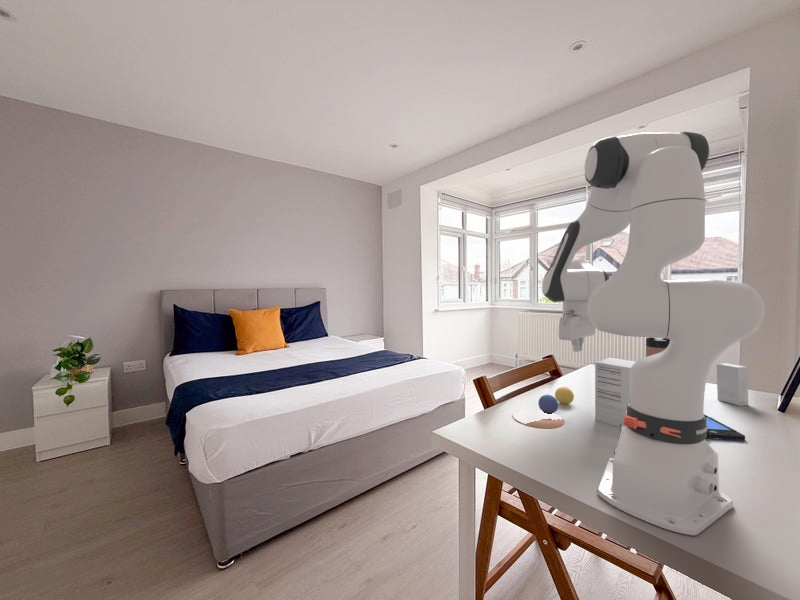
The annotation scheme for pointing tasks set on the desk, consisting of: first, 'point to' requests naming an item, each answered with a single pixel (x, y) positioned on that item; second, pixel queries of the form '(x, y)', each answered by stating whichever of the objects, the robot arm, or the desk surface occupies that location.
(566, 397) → the ball
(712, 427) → the handheld game console
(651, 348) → the travel mug
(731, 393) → the skincare box
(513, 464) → the desk surface
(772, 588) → the desk surface
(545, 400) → the ball
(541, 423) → the mark
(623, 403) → the supplement box
